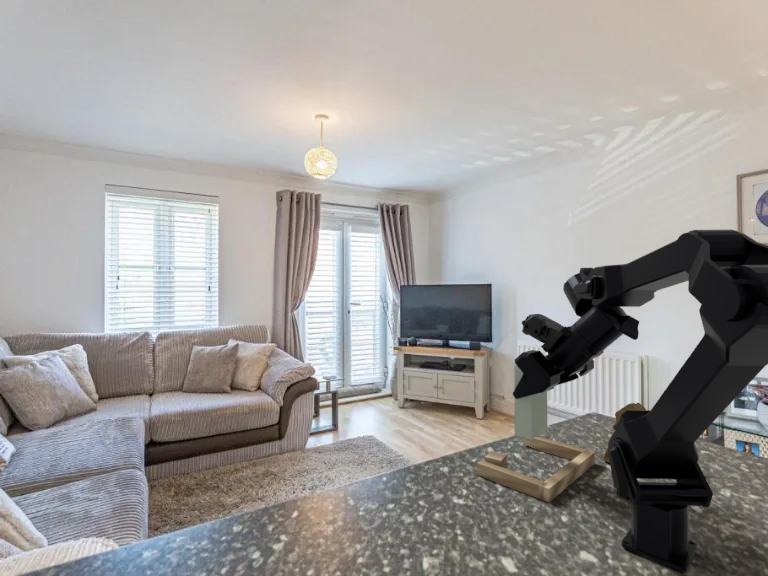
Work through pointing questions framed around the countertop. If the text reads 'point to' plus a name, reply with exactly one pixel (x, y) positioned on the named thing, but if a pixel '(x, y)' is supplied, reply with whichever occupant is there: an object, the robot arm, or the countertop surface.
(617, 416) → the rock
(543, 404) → the pale green rectangular pillar
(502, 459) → the offcut stack
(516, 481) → the wooden u-shaped frame
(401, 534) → the countertop surface
